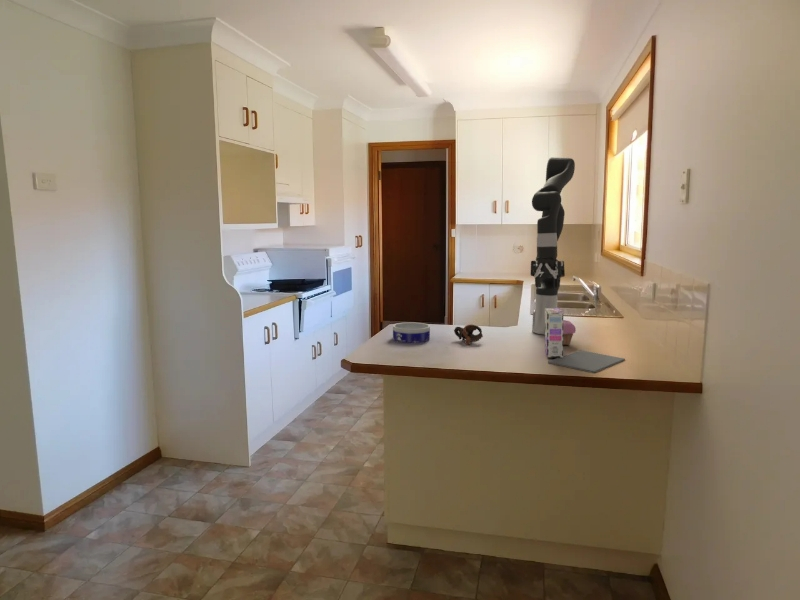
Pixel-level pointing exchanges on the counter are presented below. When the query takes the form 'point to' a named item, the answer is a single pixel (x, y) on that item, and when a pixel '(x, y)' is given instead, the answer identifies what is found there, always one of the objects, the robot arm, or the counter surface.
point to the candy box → (554, 332)
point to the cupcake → (568, 332)
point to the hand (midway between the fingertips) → (547, 287)
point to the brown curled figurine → (468, 333)
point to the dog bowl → (411, 332)
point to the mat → (587, 361)
